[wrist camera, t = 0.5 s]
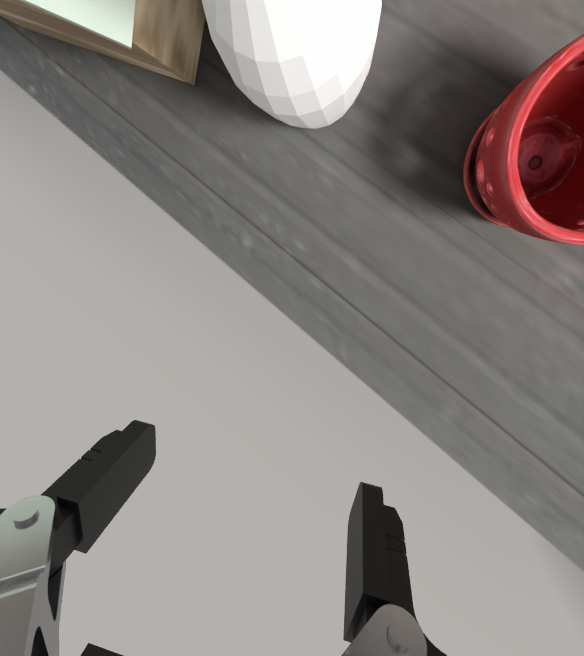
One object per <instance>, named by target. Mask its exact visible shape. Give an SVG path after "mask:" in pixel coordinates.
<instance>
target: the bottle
mask: <svg viewBox="0 0 584 656" xmlns="http://www.w3.org/2000/svg"><path fill="white" fill-rule="evenodd" d="M202 4H203V8H204V12H205V16H206V20H207V24H208V27H209V31H210V35H211V39H212V41H213V43H214V45H215V47H216V49H217V50H218V52H219V54H220V56H221V58H222V60H223V62H224V64H225V66H226V68H227V70H228V72H229V73H230V75H231V77H232V79H233V81H234V83H235V85H236V86H237V87H238V88H239V89H240V90H241V91H242V92H243V93H244V94H245V95H246V96H247V97H248V98H249V99H250V100H251V101H252V102H253V103H254V104H255V105H257V106H258V107H260V108H261V109H262V110H264V111H265V112H267V113H268V114H269V115H271V116H272V117H274V118H276V119H278V120H280V121H282V122H284V123H286V124H288V125H290V126H295V127H300V128H310V129H317V128H321V127H325V126H328V125H330V124H332V123H333V122H335V121H336V120H338V119H339V118H341V117H342V116H343V115H344V114H345V113H346V111H347V110H348V109H349V108H350V107H351V105H352V104H353V103H354V101H355V99H356V98H357V96H358V94H359V92H360V90H361V88H362V86H363V83H364V81H365V79H366V77H367V74H368V72H369V70H370V65H371V61H372V56H373V51H374V47H375V42H376V37H377V31H378V25H379V19H380V13H381V7H382V1H381V0H202Z"/></svg>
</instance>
